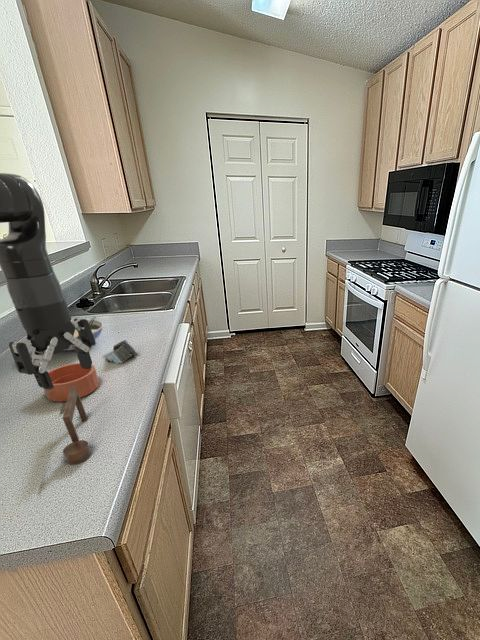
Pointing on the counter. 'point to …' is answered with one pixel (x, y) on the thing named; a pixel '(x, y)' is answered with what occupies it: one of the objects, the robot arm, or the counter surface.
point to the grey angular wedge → (121, 352)
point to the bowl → (71, 381)
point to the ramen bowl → (95, 328)
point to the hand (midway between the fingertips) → (68, 377)
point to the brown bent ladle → (78, 448)
